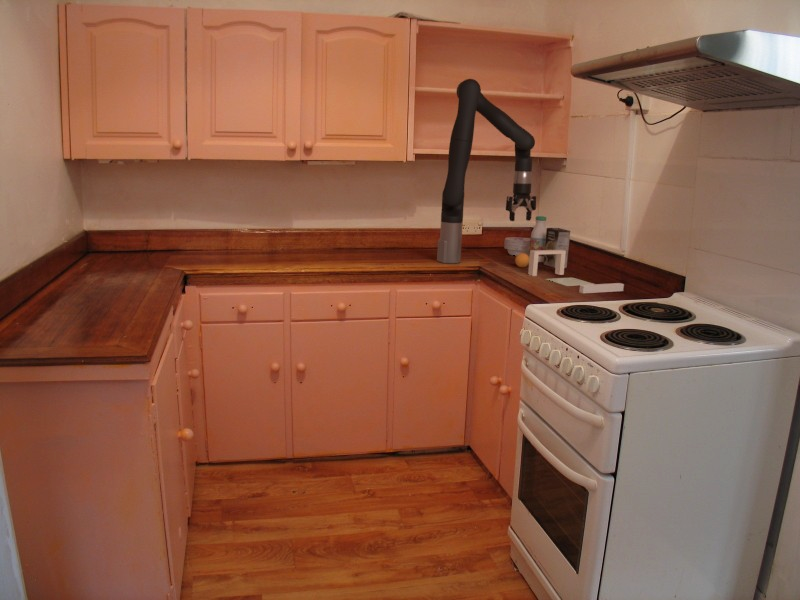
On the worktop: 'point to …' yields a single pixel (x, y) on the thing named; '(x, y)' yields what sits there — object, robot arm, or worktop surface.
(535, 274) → the bridge
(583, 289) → the stopper strip
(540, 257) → the milk bottle
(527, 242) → the paper bowls
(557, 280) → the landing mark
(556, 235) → the coffee box
